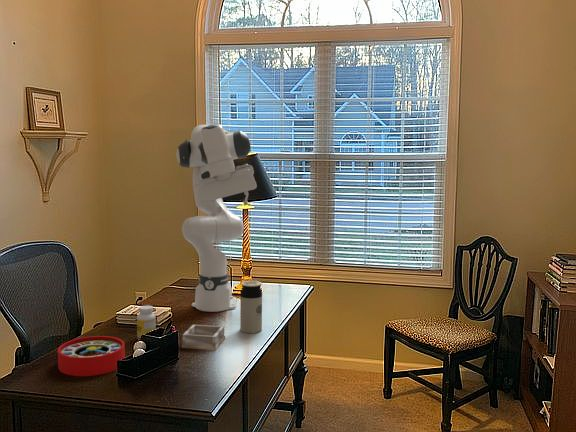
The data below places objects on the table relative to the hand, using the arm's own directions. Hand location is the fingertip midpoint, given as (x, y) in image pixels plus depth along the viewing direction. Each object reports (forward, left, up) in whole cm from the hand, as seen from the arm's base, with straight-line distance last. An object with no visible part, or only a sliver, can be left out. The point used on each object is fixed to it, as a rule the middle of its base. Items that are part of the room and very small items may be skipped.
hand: (233, 208), depth 208 cm
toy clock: (+32, -37, -47) cm, 68 cm away
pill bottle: (+7, -29, -47) cm, 56 cm away
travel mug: (-10, +5, -47) cm, 48 cm away
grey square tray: (+7, -8, -47) cm, 48 cm away
